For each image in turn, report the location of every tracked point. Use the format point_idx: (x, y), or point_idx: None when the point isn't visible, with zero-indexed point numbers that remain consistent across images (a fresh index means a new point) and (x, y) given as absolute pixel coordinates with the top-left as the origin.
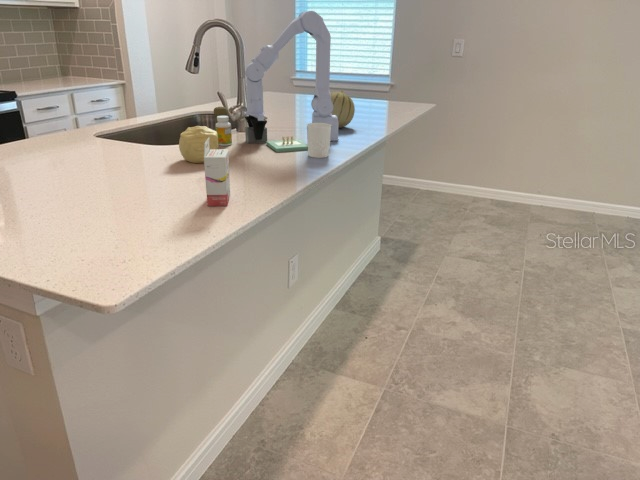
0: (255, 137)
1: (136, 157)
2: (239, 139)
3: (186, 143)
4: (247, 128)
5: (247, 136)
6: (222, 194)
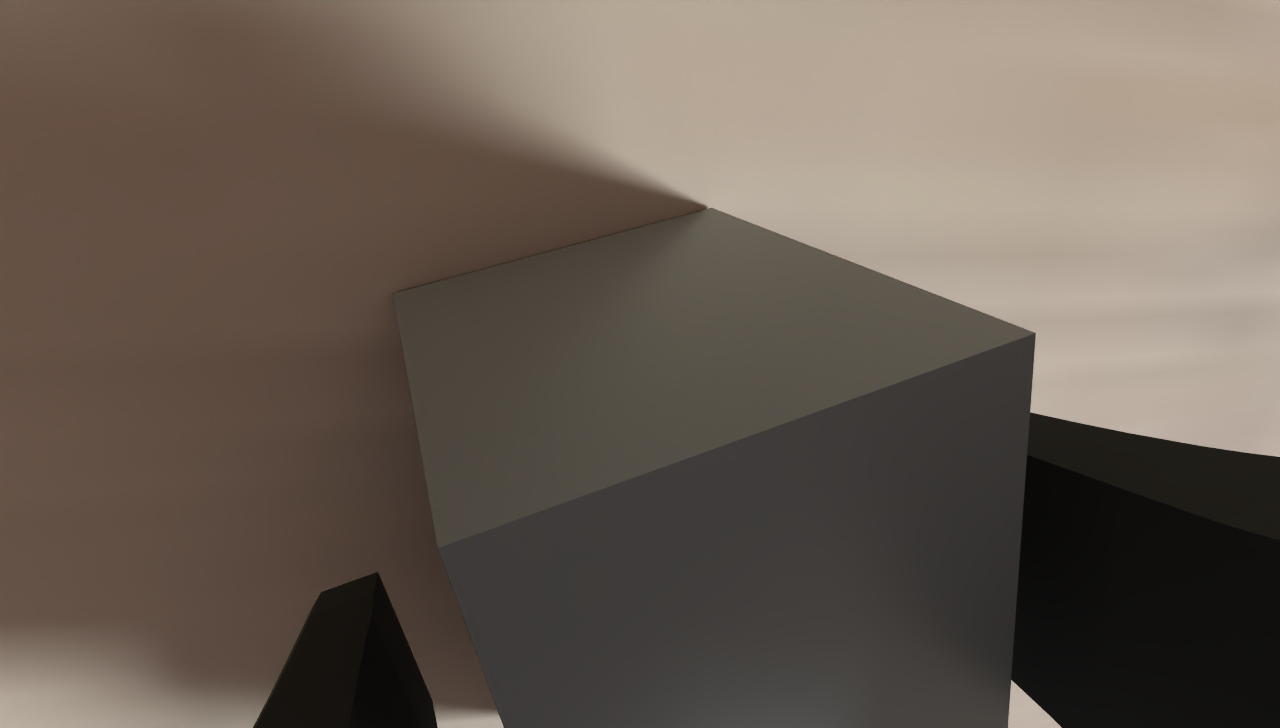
0: (323, 623)
1: None
2: (936, 32)
3: None
4: (701, 488)
5: (520, 329)
6: None
